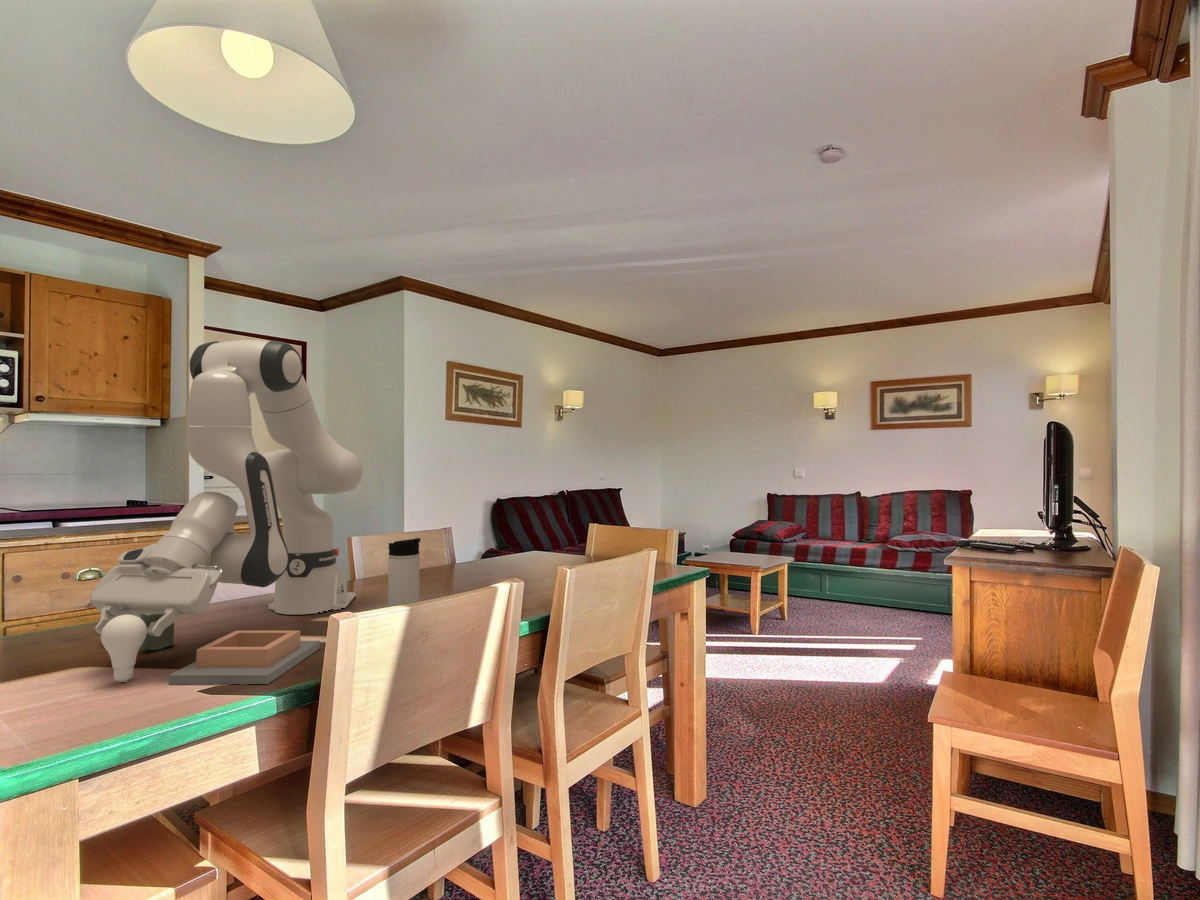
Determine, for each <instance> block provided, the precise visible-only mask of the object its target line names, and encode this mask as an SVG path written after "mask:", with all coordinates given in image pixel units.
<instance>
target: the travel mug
mask: <svg viewBox="0 0 1200 900" xmlns="http://www.w3.org/2000/svg"><path fill="white" fill-rule="evenodd" d="M420 542H422V541H421V537H416V538H412V539H411V538H410V539H404V540H397V541H393V542H389V543H388V559H387V561H388V562H387V563H388V564H387V565H388V568H387V569H388V571H387V575H388V577H387V579H388V580H387V581H388V582H387V608H388V607H391V606H396V605H404V604H410V603H416V602H419V603H420V550H419V549H420Z"/></svg>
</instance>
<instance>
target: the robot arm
mask: <svg viewBox="0 0 1200 900" xmlns="http://www.w3.org/2000/svg"><path fill="white" fill-rule="evenodd" d="M303 366H304V365H303V360H302V357H301V355H300V353H299V352H298V350H297V349H296V348H295V347H293V346H292V344H290V343H287V342H284V341H280V340H270V341H269V340H261V339H239V340H227V341H210V342H207V343H203V344H200V345H198V346H197V347H196V348H195V349H194V350H193V352H192V354H191V356H190V359H189V373H190V377H191V378H192V383H191V386H190V391H189V395H188V401H187V402H188V403H187V409H186V412H187V413H186V445H187V449H188V452H189V455H190V457H191V458H192V460H193V461H194V462H195V463H196V464H197V465H199V466H200V467H201V468H202V469H204V470H206V471H208V472H210V473H211V474H215V475H217V476H219V477H221V478H224V479H226V480H228V481H229V482H231V483H232V484H233V485H234V486H236V488H238V489H239V491H240V492H241V494H242V496H243V499H244V500H243V501H244V505H245V512H246V517H247V523H248V530H249V534H237V532H236V530H235V523H234V522H235V518H236V516H237V513H238V510H239V505H238V504H239V503H238V502H237V501H236V500H235V499H233V498H232V497H230V496H228V495H227V494H226V495H225V494H223V493H221V492H214V491H204V492H199V493H198V494H196V495H195V496H193V497H192V498H190V500H189V501H188V502H187V503H186V504H185V505H184V506H183V508H181V510H180V511H179V512H178V514H177V515H176V516H175V518H174V519H173V521H172V523H171V525H170V527H169V530H168V531H167V532H165V534H163V535H162V536H161V537H160V538H159V540H158V541H157V542H156V543H152V544H149V545H146V546H144V547H139V548H136V549H131V550H127V551H124V552H123V553H121V554H120V555H119V557H118V558H117V562H118V563H119V564H117V565H114V566H113V567H111V568H110V569H109V570H108V571H107V572H106V573H105V574H104V576H102V578H101V579H100V581H98V583H97V584H96V586H95V587H94V589H93V590H92V591H91V593H90V595H89V603H90V604H91V605H92V606H93V607H95V608H96V609H97V610H98V611H99V612H100V619H99V620H100V621H99V622H98V623H97V624H96V626H94V627H95V628H94V630H95V632H96V633H98V634H100V635H101V632H102V630H103V628H104V626H105V625H106V624H107V623H108V622H109V621H110V620H112V617H116V616H117V615H118V613H119V612H125V613H149V614H165V615H164V616H162V617H161V618H160V619H159V620H158V621H156V622H151V624H150V625H149V627H148V628H147V630H146V632H147V633H148V634H149V635H150V636H160V635H161V634H162V632H163V631H164V629H165V628H167V627H168V626H169V625H171V624H172V623H174V624H175V622H177V621H178V620H179V618H180V617H181V616H200V615H201V614H202V613H204V612H205V611H206V610H207V609H208V607H209V604H210V602H211V601H212V599H213V596H214V594H215V592H216V589H217V585H218V583H221V584H231V585H235V584H236V585H244V586H245V585H246V586H251V587H257V588H267V587H269V586H270V585H273V584H275V585H274V594H273V602H272V603H269V604H268V610H272V611H274V612H275V613H278V614H280V615H294V616H295V615H310V614H319V613H318V612H320V613H324V612H323V611H326V612H329V611H328V610H331V609H333V610H331V611H338V609H339V610H342V609H341V608H345V607H346V606H347V605H348V604H349V602H350V601H351V600H352V599H353V598H354V597H355V596H356V597H357V593H355V592H351V591H347V589H348V587H347V583H348V582H347V575H346V574H345V573H344V572H343V571H342V570H341V569H340V568H339V567H338V566H337V564H336V563H337V558H336V557H339V555H340V551H339V548H333V546H334V538H333V537H334V522H333V521H334V520H333V518H332V516H331V515H330V514H329V513H328V512H327V511H325V510H323V509H321V508H320V507H318V506H317V504H316V503H315V501H314V498H313V495H336V494H341V493H346V492H347V493H348V492H351V491H354V490H355V489H356V488H357V486H358V485H359V484H360V482H361V480H362V478H363V477H362V476H363V466H362V463H361V462H362V461H360V459H359V457H358V456H357V454H356V453H354V452H352V451H350V450H349V449H346V448H345V447H343V446H342V445H341V444H339V443H338V442H337V441H335V439H334V438H333V437H332V436H331V435H330V434H329V433H328V432H327V430H326V429H325V427H324V426H323V425H322V423H321V420H320V418H319V416H318V413H317V410H316V408H315V405H314V402H313V398H312V395H311V392H310V390H309V387H308V384H307V381H306V380H305V377H304V375H303V370H304V369H303V368H304V367H303ZM254 393H255V397H256V401H257V404H258V407H259V409H260V414H261V415H262V417H263V418H262V419H263V420H264V425H265V426H266V430H267V432H268V434H269V437H270V438H271V439H272V440H273V441H274V442H276V444H279V445H281V446H283V447H285V448H283V449H276V450H273V451H268V452H265V453H263V454H261V453H260V452H259V450H258V448H257V447H256V444H255V440H254V438H253V433H252V432H253V431H252V409H251V403H250V398H249V397H250V395H251V394H254ZM279 514H280V517H281V522H282V529H281V523H280V517H279ZM356 597H355V598H356ZM345 609H346V608H345Z"/></svg>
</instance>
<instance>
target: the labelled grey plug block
mask: <svg viewBox="0 0 1200 900" xmlns="http://www.w3.org/2000/svg"><path fill="white" fill-rule="evenodd" d="M164 615H165V614H149V613H140V616H141V617H140V618H141V619H142V620H143V621H144V622H145V624H146V627H147V628H148V627H149V625H150V624H151V622H156V621H158V620H159V619H160V618H161V617H162V616H164ZM174 637H175V622H174V623H172V624H171V625H169V626H168V627H167V628H165V629H164V631H163V632H162V634H161V635H160V636H150V635H149V634H148V633H147V634H146V637H145V639H144V641H143V643H142V645H141V646H140V650H141V651H140V653H141V652H142V653H141V654H147V653H146V652H150V653H153V652H152V651H154V652H157V650H158V651H162V650H165V649H170V648H173V646H174V640H175V639H174ZM161 649H162V650H161Z"/></svg>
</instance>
